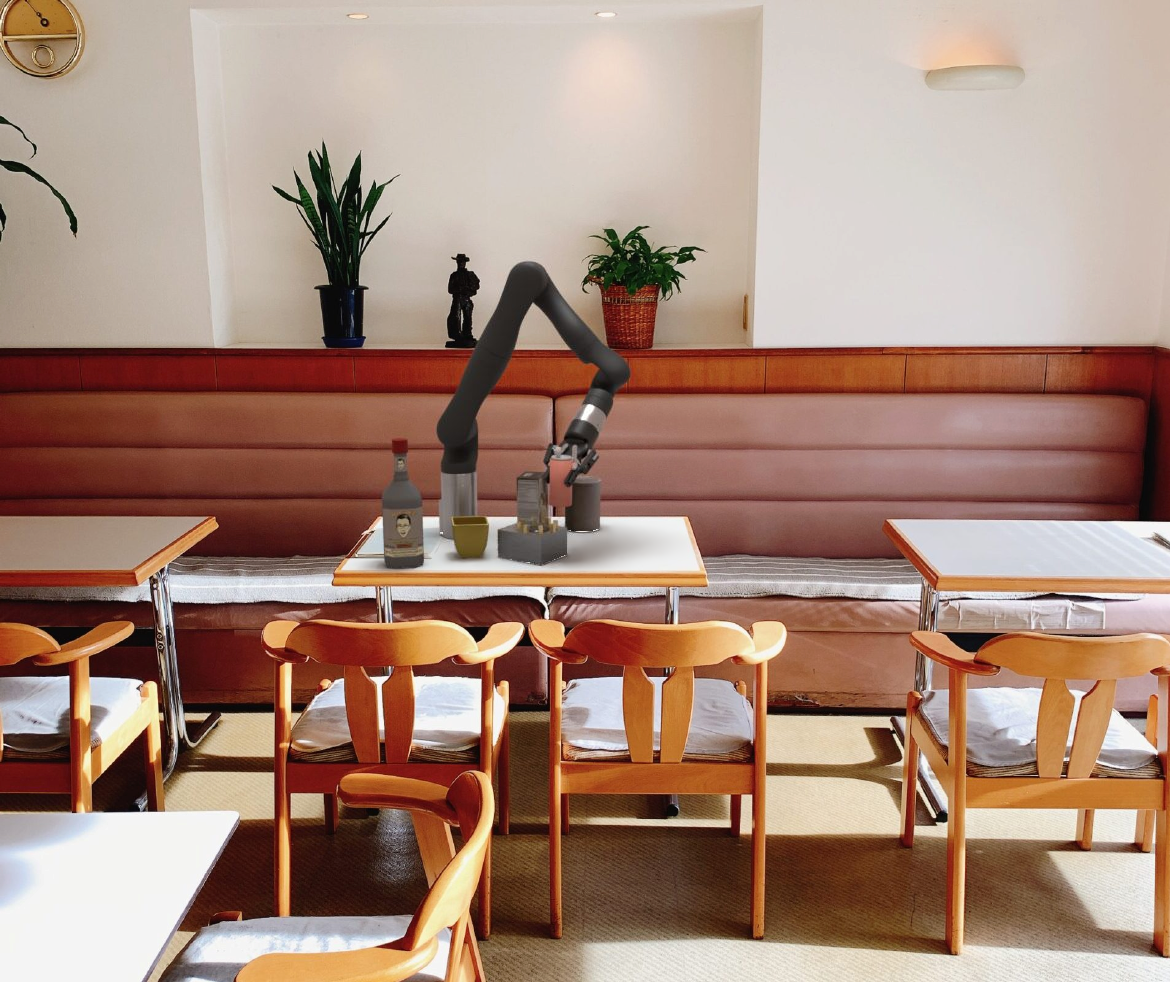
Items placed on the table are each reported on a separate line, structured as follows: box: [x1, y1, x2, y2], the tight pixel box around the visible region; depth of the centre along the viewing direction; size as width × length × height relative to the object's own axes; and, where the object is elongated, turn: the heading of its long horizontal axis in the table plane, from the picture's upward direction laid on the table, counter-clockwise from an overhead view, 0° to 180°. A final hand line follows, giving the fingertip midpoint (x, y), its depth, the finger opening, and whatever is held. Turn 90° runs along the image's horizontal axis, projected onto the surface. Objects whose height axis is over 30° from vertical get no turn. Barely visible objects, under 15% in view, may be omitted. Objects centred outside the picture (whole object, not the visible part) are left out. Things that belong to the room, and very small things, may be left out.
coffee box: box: [516, 471, 549, 524], centre depth 276 cm, size 9×6×16 cm
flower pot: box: [451, 515, 490, 559], centre depth 255 cm, size 9×9×9 cm
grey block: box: [497, 516, 568, 566], centre depth 255 cm, size 16×11×9 cm
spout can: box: [548, 447, 573, 508], centre depth 248 cm, size 5×5×14 cm
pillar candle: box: [564, 473, 602, 531], centre depth 281 cm, size 10×10×15 cm
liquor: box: [381, 437, 425, 570], centre depth 246 cm, size 9×9×30 cm
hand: (556, 483), depth 246 cm, fingers closed on spout can, 5 cm apart
